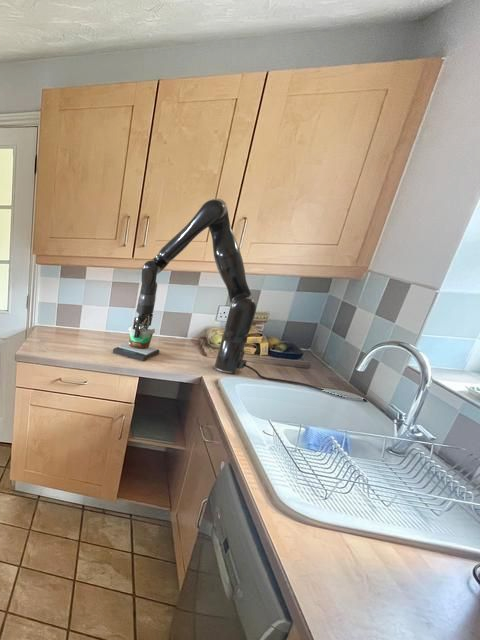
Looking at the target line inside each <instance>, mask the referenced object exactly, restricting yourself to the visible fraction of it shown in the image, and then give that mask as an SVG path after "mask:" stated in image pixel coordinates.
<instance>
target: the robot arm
mask: <svg viewBox="0 0 480 640" xmlns="http://www.w3.org/2000/svg"><path fill="white" fill-rule="evenodd" d="M207 228H208V230H209V232H210V235H211V241H212V253H213V258H214V261H215V265H216V269H217V271H218V273H219V276H220V278H221V280H222V281H223V283H224V286H225V287H226V290H227V294H228V299H229V311H228V314H227V317H226V323H225V326H224V328H223V332H222V337H221V340H220V345H219V348H218V351H217V356H216V359H215V363H214V366H213V369H214V370H215V371H218V372H220V373H224V374H230V375H231V374H232V375H236V374H237V373H239V372H240V370H242V369H244V368H245V367H246V368H248V369H249V370H250V371H252V372H254V373H255V374H256V375H257V376H258V377H259V378H261V379H264V380H267V381H277V382H284V383H290V384H294V385H301V386H305V387H309V388H312V389H315V390H317V391H321V392H324V393H326V394H330V395H333V396H336V397H340V398H344V399H346V398H345V397H342V396H339V395H335V394H332V393H329V392H325V391H322V390H324V389H325V388H321V387H318V386H315V385H311V384H307V383H304V382H300V381H294V380H286V379H281V378H273V377H267V376H264V375H261V374H260V373H259V372H258V370H257V369H255V368H254V367H251V366H250V365H247V360H245V359H244V356H245V353H246V351H245V348H246V344H247V341H248V337H249V334H250V331H251V329H252V326H253V322H254V318H255V316H256V312H257V303H256V300H255V299H254V296H253V294H252V292H251V290H250V287H249V285H248V281H247V277H246V270H245V265H244V260H243V256H242V253H241V250H240V247H239V244H238V242H237V239H236V236H235V235H234V232H233V229H232V226H231V221H230V215H229V210H228V205H227V203H226V201H224V200H223V199H221V198H212V199H208V200H207V201H206V202H204V203H203V204H202V206H201V207H200V208H199V210H198V211H197V212H196V213H195V215H193V217H192V219H190V221H189V222H188V223H187V224H186V225H185V226H184V227H183V228H182V229H181V230H179V232H178V233H176V235H174V236H173V237H172V238H171V239H170V240H169V241H168V242H166V244H165V245H164V246H162V247H161V249H160V250H159V251H158V253H157V254H156V255H155V256H154V257H153V258H152V259H151V260H148V261H145V262H144V264H143V265H142V268H141V286H140V291H139V295H138V299H137V305H136V313H137V314H138V316H137V317H134V319H133V325H132V327H133V329H134V330H135V334H134V337H135V338H139V335H140V330H141V328H145V329H149V327H151V326H152V321H153V317H154V310H155V304H156V299H157V292H158V291H157V290H158V282H157V276H158V274H160V273H161V272H162V271H163V270H164V269H165V268H166V267H167V266H168V265H169V264H170V263H171V262H172V261H173V260H174V259H175V258H177V256H178V255H180V254H181V252H183V251H184V250H185V249H186V248H187V247H188V246H189V245H190V244H191V242H192V241H193V240H194V239H195V238H196V237H197V236H198V235H200V234H201V233H202V232H203V231H205V230H206V229H207ZM359 396H360V395H359ZM360 397H362V396H360ZM362 401H363V402H365V403H368V399H366V398H365V399H363V400H362Z"/></svg>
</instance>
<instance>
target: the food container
mask: <svg viewBox="0 0 480 640" xmlns="http://www.w3.org/2000/svg"><path fill="white" fill-rule="evenodd" d="M128 331H129V340H128V342H129V346H131V347H133V348H137V349H147V348H149V347H150V345H151V342H152V338H153V335H154V334H155V333H156V328H152V329H149V328H148V329H145V328H143V327H141V330H140V335H139V338H135V337H134V334H135V330H134V329H133V326H131V325H129V327H128Z"/></svg>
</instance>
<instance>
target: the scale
mask: <svg viewBox="0 0 480 640" xmlns="http://www.w3.org/2000/svg"><path fill="white" fill-rule="evenodd" d="M112 349H113V350H112V354H116V355H119V356H123V357H126V358H129V359H133V360H136V361H140V362H146V361H147V360H148V359H151V358H153V357H156V356H157V355H159V354H160V349H159V348H156V347H153V346H149V348H147V349H137V348H133V347H131V346H129V341H128V342H126V343H123V344H121V345H118V346H116V347H114V348H112Z"/></svg>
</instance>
